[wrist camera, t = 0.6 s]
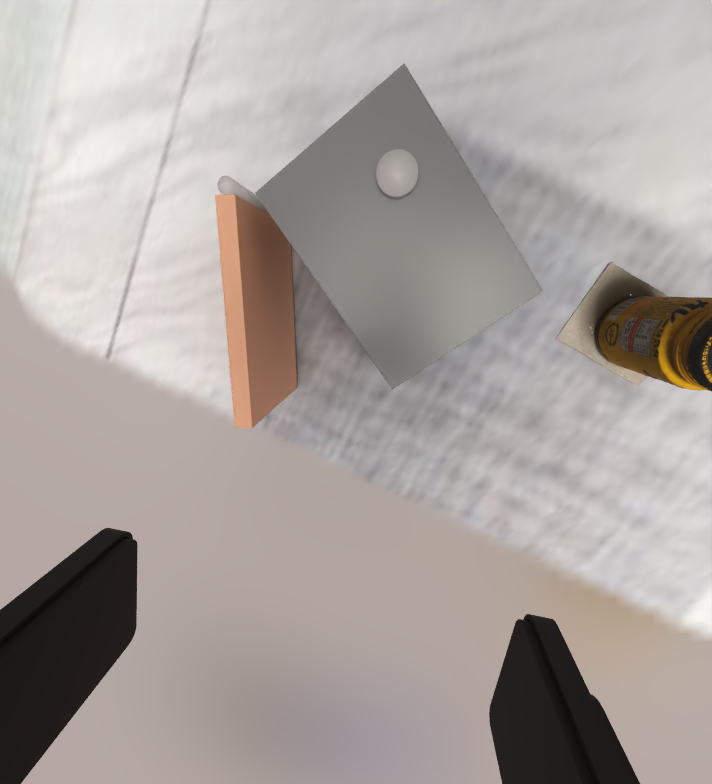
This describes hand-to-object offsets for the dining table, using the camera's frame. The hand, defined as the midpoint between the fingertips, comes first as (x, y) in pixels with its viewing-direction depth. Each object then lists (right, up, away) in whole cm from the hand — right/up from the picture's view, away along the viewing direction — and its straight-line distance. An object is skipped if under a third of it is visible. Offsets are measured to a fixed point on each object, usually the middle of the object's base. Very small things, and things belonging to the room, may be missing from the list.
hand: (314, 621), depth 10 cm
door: (-6, +13, +27) cm, 31 cm away
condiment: (+24, +11, +25) cm, 37 cm away
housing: (+5, +17, +25) cm, 31 cm away
